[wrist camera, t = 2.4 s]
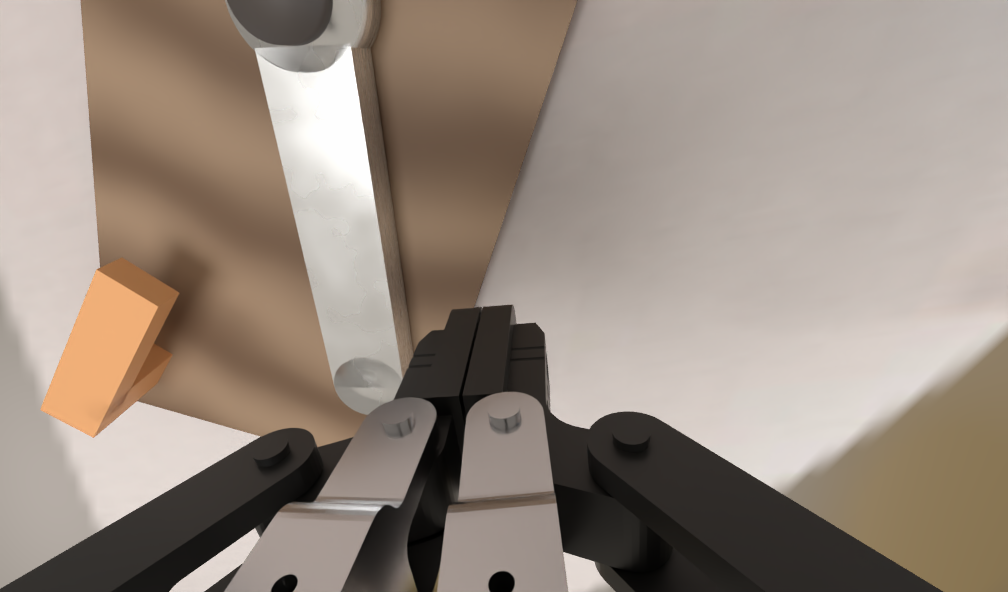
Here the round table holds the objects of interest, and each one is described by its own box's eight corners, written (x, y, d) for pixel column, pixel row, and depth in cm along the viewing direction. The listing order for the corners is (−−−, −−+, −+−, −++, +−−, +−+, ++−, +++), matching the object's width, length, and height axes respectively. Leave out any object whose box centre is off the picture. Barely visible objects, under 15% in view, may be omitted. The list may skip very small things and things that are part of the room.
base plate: (104, -201, 16) (-65, -300, 12) (582, -18, 17) (596, -45, 13) (130, 376, 27) (49, 439, 23) (421, 460, 28) (399, 536, 24)
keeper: (171, 233, 21) (96, 269, 18) (221, 265, 22) (158, 306, 18) (112, 358, 25) (39, 410, 21) (157, 383, 25) (93, 437, 22)
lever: (240, -73, 16) (202, -89, 14) (370, -81, 16) (348, -99, 14) (344, 388, 24) (328, 414, 22) (430, 389, 24) (421, 416, 22)
